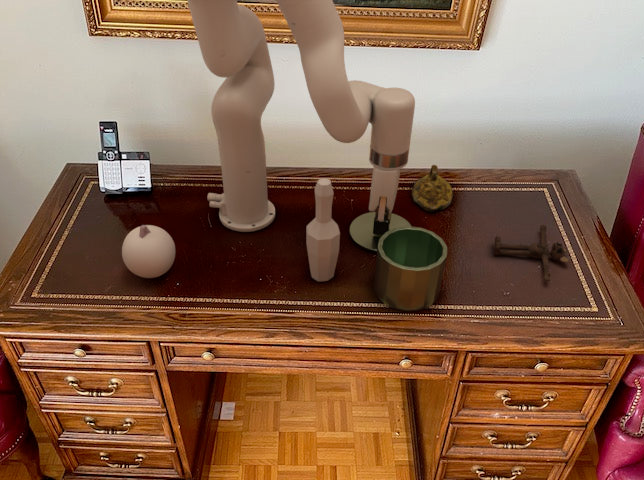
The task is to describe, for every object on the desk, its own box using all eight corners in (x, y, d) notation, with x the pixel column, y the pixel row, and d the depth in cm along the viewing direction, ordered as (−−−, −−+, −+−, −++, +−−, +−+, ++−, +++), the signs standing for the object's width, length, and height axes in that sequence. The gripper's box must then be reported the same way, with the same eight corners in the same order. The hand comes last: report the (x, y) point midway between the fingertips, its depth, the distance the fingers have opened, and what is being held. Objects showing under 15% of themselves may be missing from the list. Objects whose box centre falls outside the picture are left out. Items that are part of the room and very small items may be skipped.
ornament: (165, 292, 124) (155, 245, 116) (118, 282, 127) (105, 235, 118) (186, 259, 131) (178, 212, 123) (141, 251, 134) (131, 204, 125)
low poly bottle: (315, 288, 124) (316, 195, 109) (300, 269, 128) (300, 177, 113) (343, 278, 126) (348, 186, 111) (328, 260, 130) (331, 168, 115)
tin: (370, 306, 120) (374, 265, 113) (377, 263, 129) (382, 223, 122) (436, 315, 118) (445, 274, 111) (440, 272, 127) (448, 230, 120)
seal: (452, 219, 141) (449, 181, 152) (458, 202, 138) (454, 164, 148) (411, 212, 141) (410, 175, 152) (416, 195, 138) (415, 158, 148)
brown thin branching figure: (495, 213, 136) (568, 216, 132) (493, 229, 138) (564, 233, 135) (495, 268, 123) (575, 273, 120) (493, 284, 126) (571, 289, 122)
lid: (344, 250, 132) (346, 225, 128) (354, 212, 142) (356, 187, 137) (410, 258, 130) (413, 233, 126) (415, 219, 140) (418, 194, 135)
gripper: (374, 130, 128) (368, 204, 141) (364, 174, 117) (358, 250, 130) (412, 134, 127) (402, 208, 140) (404, 178, 116) (395, 255, 129)
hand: (381, 228), depth 135 cm, fingers closed on lid, 3 cm apart
